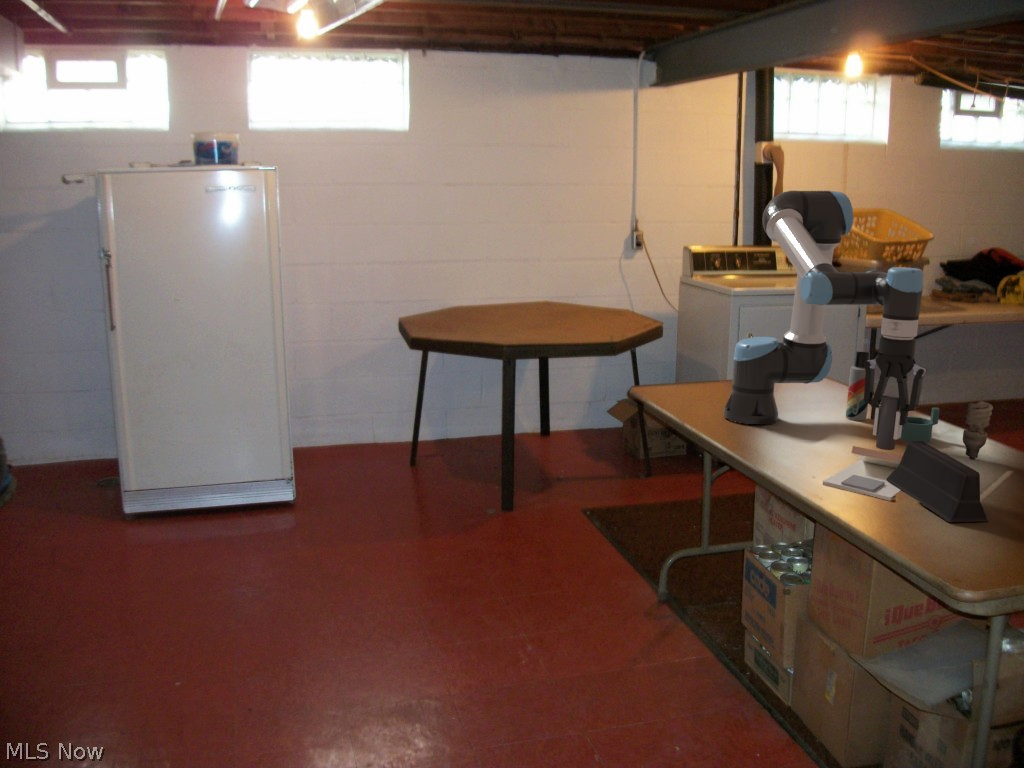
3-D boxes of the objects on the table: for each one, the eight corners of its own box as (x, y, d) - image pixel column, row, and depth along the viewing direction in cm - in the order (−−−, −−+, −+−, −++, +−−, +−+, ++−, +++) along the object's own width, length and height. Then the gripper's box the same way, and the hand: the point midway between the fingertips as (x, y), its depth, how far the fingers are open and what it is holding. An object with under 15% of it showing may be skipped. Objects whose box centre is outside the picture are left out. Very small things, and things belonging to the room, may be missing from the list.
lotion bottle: (845, 419, 250) (852, 351, 245) (845, 415, 255) (852, 348, 250) (866, 422, 248) (873, 353, 243) (866, 417, 253) (873, 350, 248)
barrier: (885, 479, 196) (892, 438, 194) (920, 479, 198) (928, 437, 195) (949, 522, 174) (958, 476, 171) (989, 522, 175) (998, 475, 172)
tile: (863, 461, 210) (851, 453, 202) (864, 455, 210) (853, 445, 202) (914, 472, 202) (904, 464, 195) (916, 465, 202) (906, 456, 195)
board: (822, 484, 196) (823, 478, 196) (866, 458, 215) (866, 453, 214) (890, 500, 186) (891, 494, 186) (929, 472, 205) (930, 466, 204)
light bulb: (988, 460, 215) (996, 401, 211) (980, 464, 211) (989, 405, 207) (964, 454, 219) (972, 397, 215) (956, 459, 215) (964, 401, 211)
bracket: (938, 440, 231) (942, 408, 229) (916, 445, 226) (920, 412, 224) (908, 432, 238) (912, 401, 236) (886, 436, 234) (890, 404, 232)
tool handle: (873, 447, 201) (879, 397, 198) (879, 443, 204) (885, 394, 201) (890, 451, 198) (896, 400, 195) (897, 447, 201) (903, 397, 198)
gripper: (854, 334, 198) (843, 432, 203) (932, 343, 187) (919, 447, 192) (866, 330, 203) (856, 425, 209) (943, 339, 192) (930, 440, 197)
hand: (886, 435), depth 200 cm, fingers closed on tool handle, 4 cm apart
